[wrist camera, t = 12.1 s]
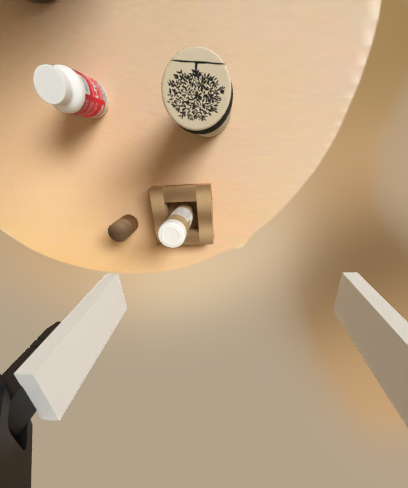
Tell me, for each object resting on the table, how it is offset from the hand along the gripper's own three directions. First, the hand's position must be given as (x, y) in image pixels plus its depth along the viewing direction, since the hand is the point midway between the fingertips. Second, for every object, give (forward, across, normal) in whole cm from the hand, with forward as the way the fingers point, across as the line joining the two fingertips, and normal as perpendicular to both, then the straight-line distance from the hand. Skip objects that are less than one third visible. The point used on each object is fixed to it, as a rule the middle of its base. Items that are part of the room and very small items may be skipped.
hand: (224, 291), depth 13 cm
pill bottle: (+35, -24, +17) cm, 46 cm away
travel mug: (+35, -3, +13) cm, 37 cm away
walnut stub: (+35, -22, -7) cm, 42 cm away
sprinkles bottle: (+35, -9, -5) cm, 36 cm away
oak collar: (+35, -9, -5) cm, 36 cm away
